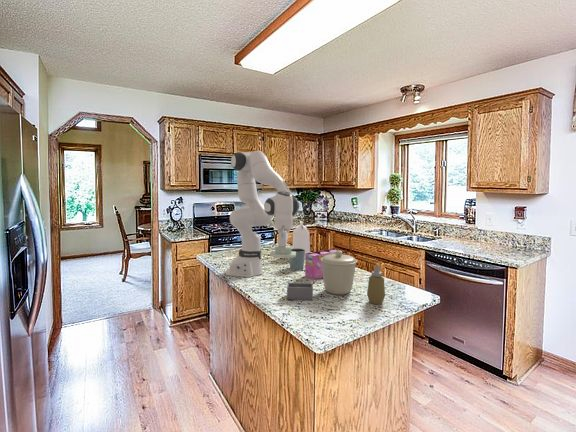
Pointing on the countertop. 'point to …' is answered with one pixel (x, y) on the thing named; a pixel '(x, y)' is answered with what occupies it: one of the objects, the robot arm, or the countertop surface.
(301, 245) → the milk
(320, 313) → the countertop surface
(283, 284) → the countertop surface
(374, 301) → the squeeze bottle
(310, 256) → the gum box
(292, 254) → the lid
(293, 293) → the box
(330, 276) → the canister
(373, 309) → the countertop surface
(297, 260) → the grey cup
